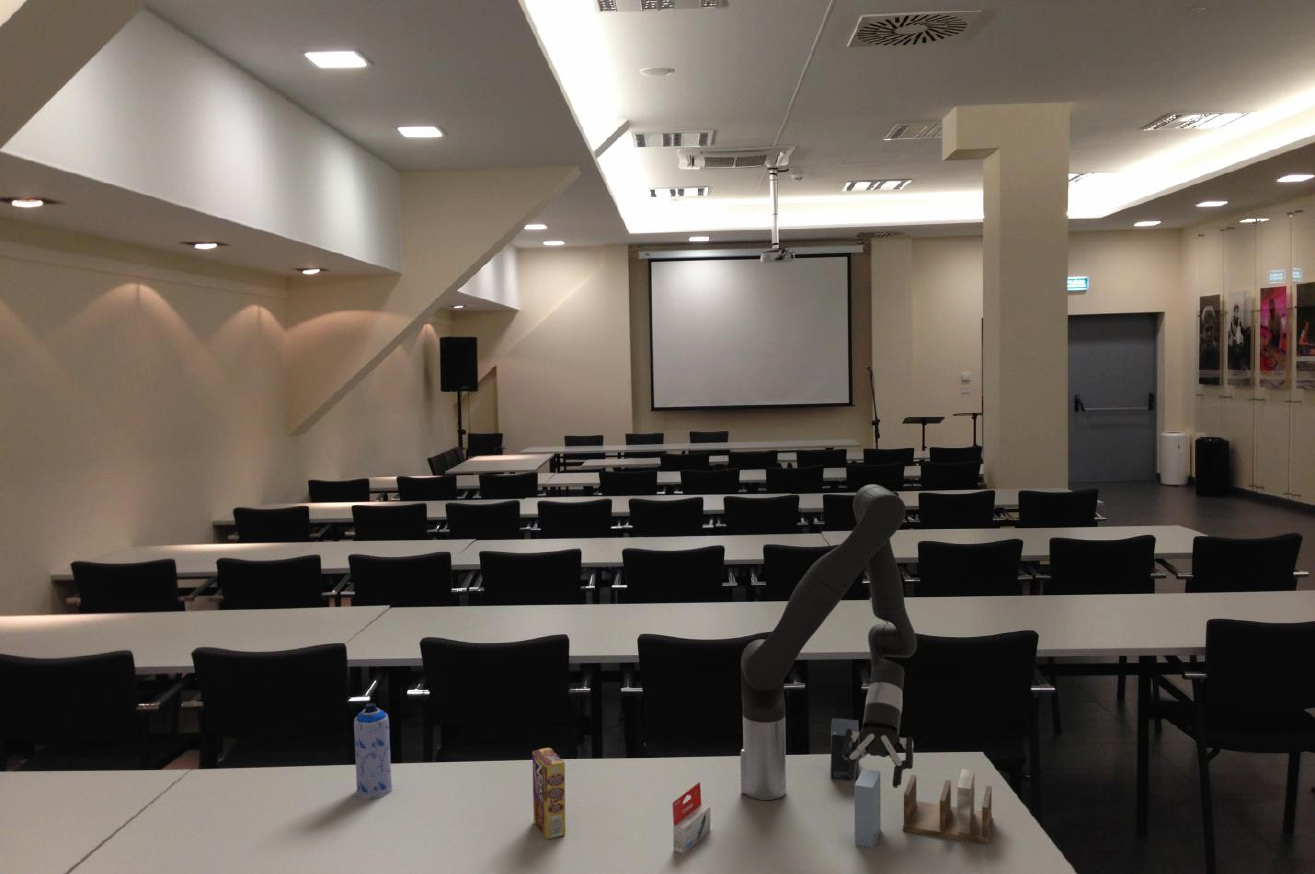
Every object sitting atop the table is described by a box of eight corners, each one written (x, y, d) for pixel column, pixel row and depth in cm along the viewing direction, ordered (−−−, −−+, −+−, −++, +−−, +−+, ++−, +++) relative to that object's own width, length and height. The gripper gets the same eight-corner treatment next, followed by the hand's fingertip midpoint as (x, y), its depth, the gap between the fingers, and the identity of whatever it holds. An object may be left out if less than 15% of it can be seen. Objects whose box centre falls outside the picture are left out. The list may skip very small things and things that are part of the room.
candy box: (567, 835, 192) (565, 762, 191) (547, 840, 190) (545, 766, 189) (552, 817, 200) (550, 746, 199) (533, 822, 198) (530, 750, 197)
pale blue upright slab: (855, 844, 186) (854, 785, 185) (863, 826, 193) (862, 768, 193) (873, 847, 185) (872, 787, 184) (880, 829, 192) (880, 771, 191)
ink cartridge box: (711, 830, 193) (710, 784, 192) (683, 855, 184) (682, 805, 183) (700, 827, 194) (699, 781, 194) (672, 851, 185) (671, 803, 184)
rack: (902, 830, 191) (902, 782, 191) (912, 804, 202) (912, 759, 201) (986, 844, 185) (987, 795, 184) (991, 817, 196) (992, 770, 195)
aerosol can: (400, 788, 216) (396, 702, 214) (372, 801, 209) (368, 713, 208) (376, 780, 220) (372, 696, 219) (348, 794, 213) (344, 706, 212)
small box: (859, 781, 214) (859, 736, 213) (830, 779, 215) (829, 734, 215) (859, 762, 225) (859, 719, 224) (831, 760, 226) (830, 717, 225)
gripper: (847, 697, 203) (835, 770, 194) (915, 705, 198) (907, 781, 188) (852, 713, 209) (841, 785, 199) (919, 721, 203) (911, 796, 193)
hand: (873, 783), depth 193 cm, fingers open, 8 cm apart
